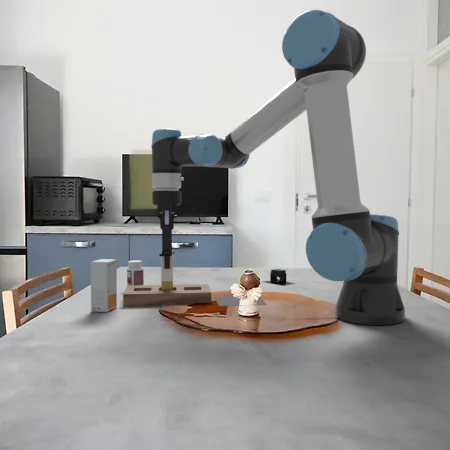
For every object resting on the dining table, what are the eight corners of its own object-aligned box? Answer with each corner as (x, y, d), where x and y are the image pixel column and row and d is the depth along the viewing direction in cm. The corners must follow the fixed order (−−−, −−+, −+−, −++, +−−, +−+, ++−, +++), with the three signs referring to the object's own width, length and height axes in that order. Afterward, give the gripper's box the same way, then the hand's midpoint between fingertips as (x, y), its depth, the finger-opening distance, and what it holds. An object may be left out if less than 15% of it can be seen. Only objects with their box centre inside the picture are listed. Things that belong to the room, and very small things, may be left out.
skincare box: (107, 312, 125) (106, 262, 124) (90, 312, 125) (89, 261, 125) (117, 307, 131) (117, 259, 130) (101, 306, 131) (100, 258, 131)
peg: (172, 297, 138) (172, 251, 137) (161, 297, 137) (161, 251, 136) (173, 295, 141) (172, 250, 140) (161, 295, 140) (161, 250, 139)
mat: (266, 306, 131) (266, 304, 131) (218, 307, 130) (218, 305, 130) (258, 296, 143) (258, 295, 143) (214, 297, 142) (214, 296, 142)
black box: (300, 285, 163) (301, 270, 163) (285, 288, 159) (285, 273, 158) (271, 280, 173) (271, 266, 172) (255, 283, 168) (255, 268, 168)
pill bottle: (145, 288, 156) (145, 260, 155) (141, 291, 151) (141, 262, 151) (129, 288, 156) (129, 259, 156) (125, 291, 152) (124, 262, 151)
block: (211, 304, 134) (211, 292, 134) (123, 306, 132) (123, 294, 132) (208, 294, 146) (208, 284, 146) (127, 296, 144) (127, 285, 144)
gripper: (182, 190, 130) (182, 285, 131) (180, 190, 145) (181, 274, 147) (151, 189, 129) (151, 285, 130) (153, 189, 145) (153, 275, 146)
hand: (167, 279), depth 139 cm, fingers closed on peg, 3 cm apart
